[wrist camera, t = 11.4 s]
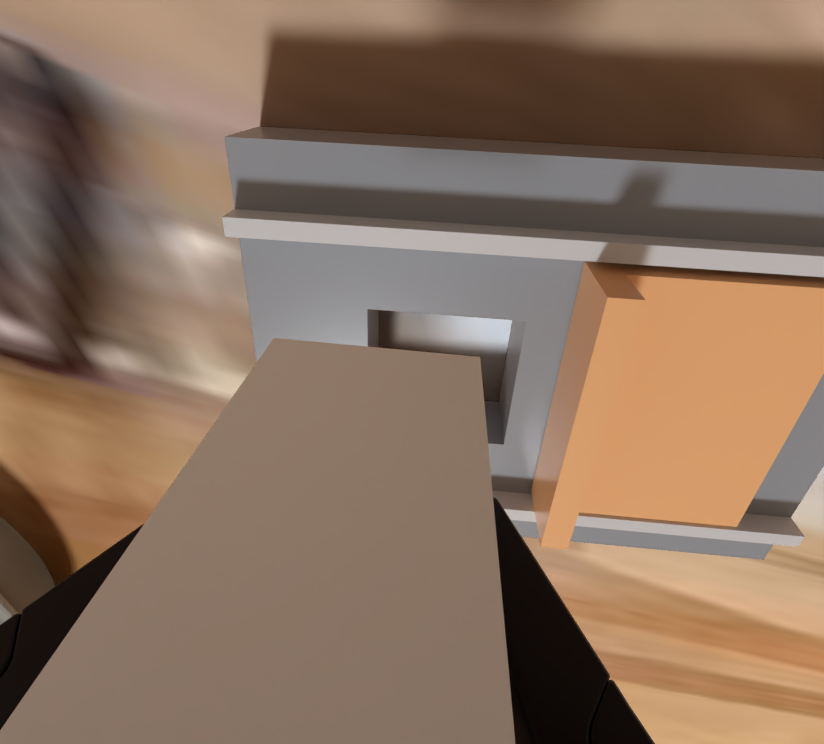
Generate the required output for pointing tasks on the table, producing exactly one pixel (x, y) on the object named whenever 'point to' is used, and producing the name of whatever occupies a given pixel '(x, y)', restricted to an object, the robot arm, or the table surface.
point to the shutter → (675, 393)
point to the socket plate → (519, 270)
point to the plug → (304, 573)
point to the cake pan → (19, 573)
